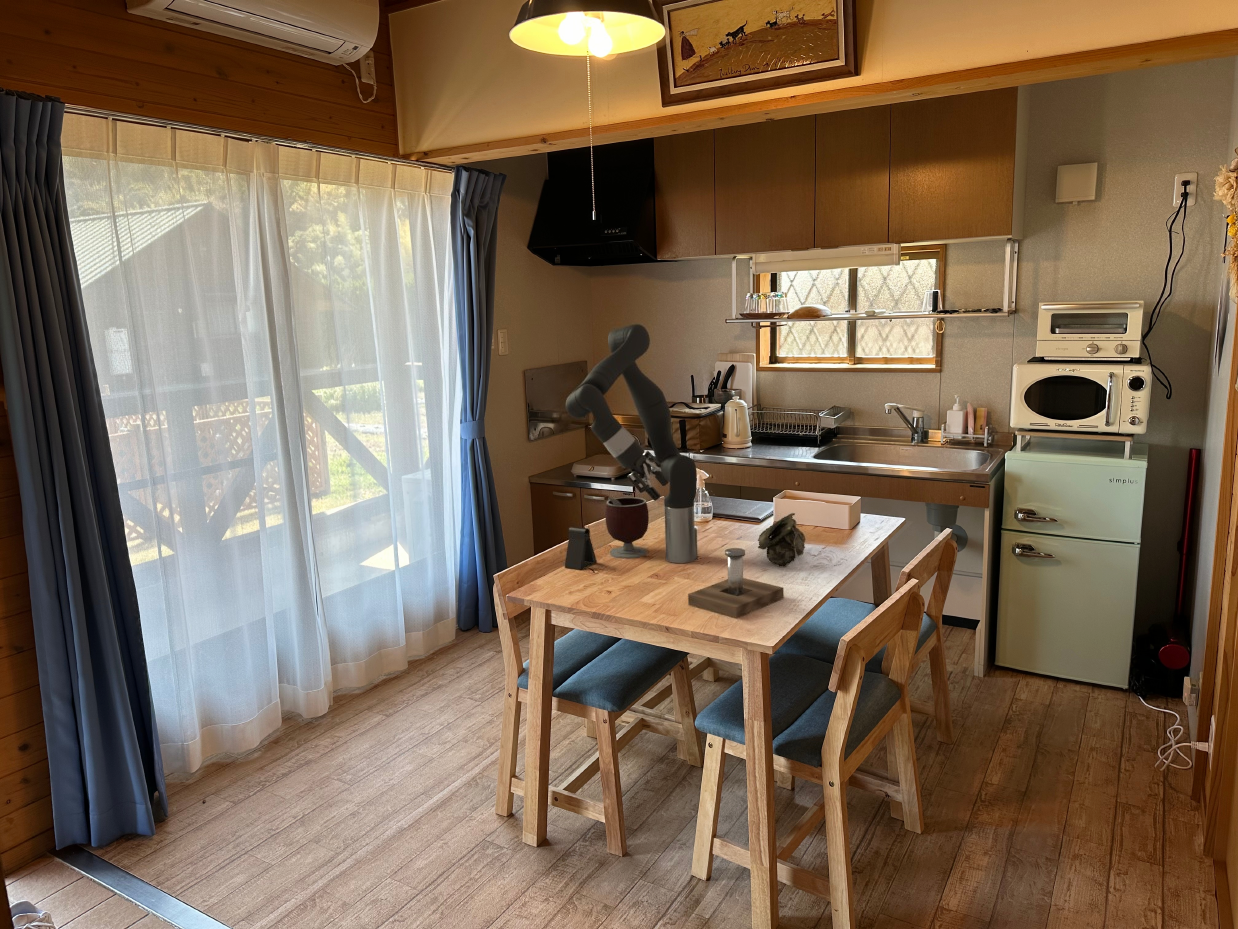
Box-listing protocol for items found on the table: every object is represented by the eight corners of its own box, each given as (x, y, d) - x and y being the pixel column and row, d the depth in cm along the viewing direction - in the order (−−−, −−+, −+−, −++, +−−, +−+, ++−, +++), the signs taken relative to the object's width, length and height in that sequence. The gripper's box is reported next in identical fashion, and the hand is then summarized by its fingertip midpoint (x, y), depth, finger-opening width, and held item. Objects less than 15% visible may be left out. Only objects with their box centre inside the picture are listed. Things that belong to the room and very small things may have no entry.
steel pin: (734, 597, 231) (733, 546, 229) (749, 601, 227) (749, 550, 225) (721, 602, 228) (721, 551, 225) (737, 606, 224) (736, 554, 221)
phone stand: (580, 570, 261) (578, 532, 259) (564, 568, 264) (562, 530, 262) (597, 562, 269) (595, 525, 266) (581, 560, 272) (579, 523, 270)
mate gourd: (625, 545, 287) (622, 486, 284) (658, 551, 279) (656, 490, 275) (594, 556, 276) (592, 495, 272) (628, 562, 267) (626, 500, 263)
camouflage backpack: (779, 587, 253) (815, 553, 247) (747, 557, 254) (782, 523, 248) (790, 558, 279) (823, 527, 273) (761, 530, 280) (793, 499, 274)
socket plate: (736, 586, 240) (736, 576, 239) (783, 598, 229) (783, 587, 228) (688, 604, 226) (688, 594, 226) (736, 618, 215) (736, 607, 215)
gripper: (625, 451, 224) (665, 497, 226) (641, 429, 236) (678, 472, 238) (605, 465, 228) (645, 510, 230) (622, 443, 240) (659, 485, 242)
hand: (662, 491), depth 234 cm, fingers open, 8 cm apart
